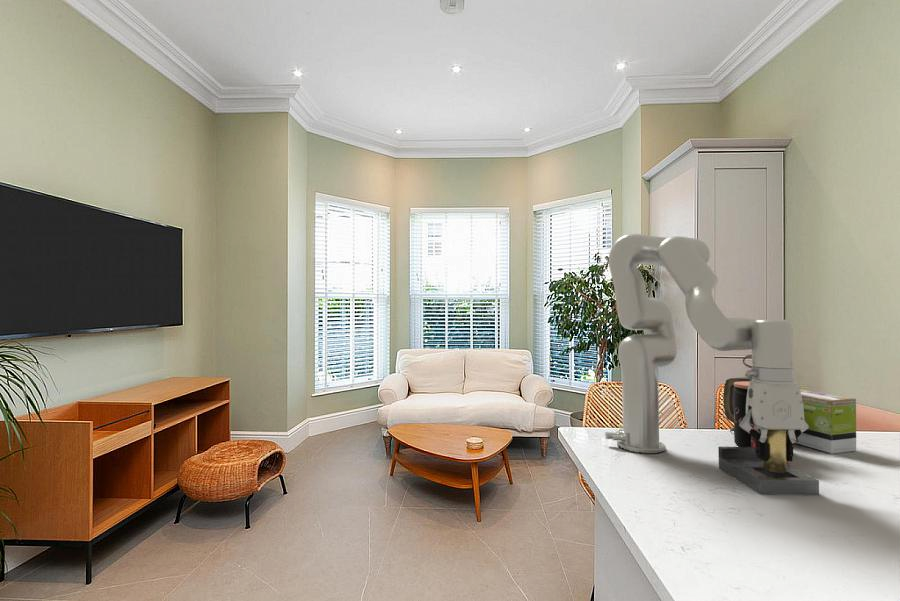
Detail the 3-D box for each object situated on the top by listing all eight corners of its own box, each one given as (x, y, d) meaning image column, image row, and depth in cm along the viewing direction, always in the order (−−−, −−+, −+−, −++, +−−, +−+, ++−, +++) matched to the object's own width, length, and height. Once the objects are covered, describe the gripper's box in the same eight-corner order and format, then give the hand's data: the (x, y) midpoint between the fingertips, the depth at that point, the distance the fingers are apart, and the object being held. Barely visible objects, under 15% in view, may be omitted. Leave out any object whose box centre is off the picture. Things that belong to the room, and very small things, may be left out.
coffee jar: (725, 446, 134) (725, 382, 134) (749, 441, 138) (748, 380, 139) (764, 456, 124) (763, 387, 125) (788, 451, 129) (787, 385, 129)
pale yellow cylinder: (770, 472, 100) (770, 430, 101) (758, 466, 105) (757, 425, 105) (792, 473, 100) (791, 430, 101) (778, 466, 105) (777, 425, 105)
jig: (760, 494, 98) (759, 468, 98) (718, 469, 114) (718, 446, 114) (819, 495, 98) (818, 468, 98) (769, 469, 114) (768, 447, 114)
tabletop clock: (723, 432, 149) (723, 353, 150) (740, 429, 153) (739, 352, 154) (772, 443, 136) (771, 357, 137) (789, 440, 141) (788, 356, 141)
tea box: (778, 439, 140) (777, 390, 141) (802, 437, 143) (802, 388, 144) (832, 454, 126) (831, 398, 126) (858, 451, 129) (857, 397, 129)
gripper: (743, 377, 100) (745, 464, 99) (824, 377, 99) (827, 465, 99) (724, 373, 107) (725, 454, 107) (799, 373, 107) (801, 454, 106)
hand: (774, 458), depth 103 cm, fingers closed on pale yellow cylinder, 4 cm apart
